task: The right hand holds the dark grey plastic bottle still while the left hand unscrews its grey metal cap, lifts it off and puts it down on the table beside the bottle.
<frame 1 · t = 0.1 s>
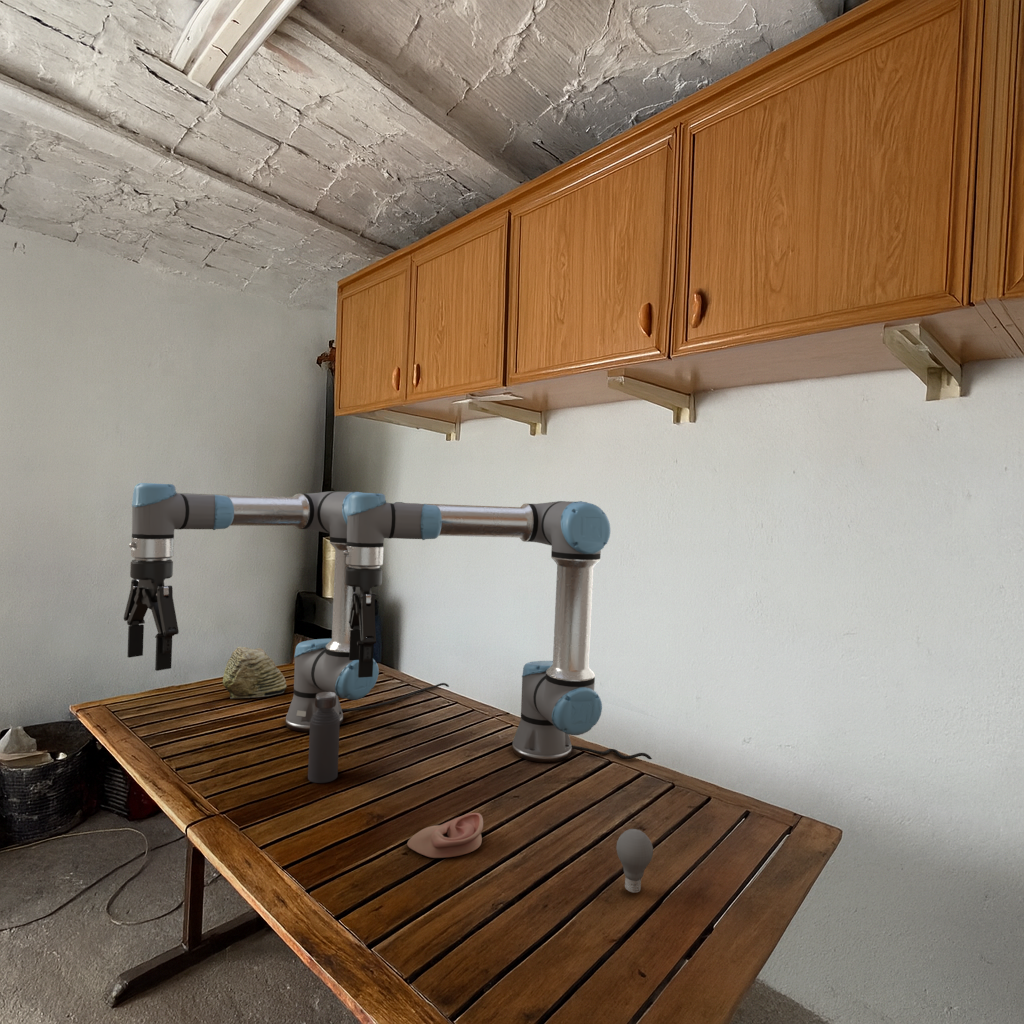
left hand: (148, 662, 129), 28 cm above the table, tool pointing down, fingers open, 13 cm apart
right hand: (360, 668, 132), 28 cm above the table, tool pointing down, fingers open, 13 cm apart
cap: (325, 696, 143), point 18 cm above the table, screwed on, not yet turned
anatomical model: (445, 843, 118), on the table
light bulb: (632, 891, 106), on the table
fossil: (254, 694, 198), on the table
bottle: (322, 776, 143), on the table
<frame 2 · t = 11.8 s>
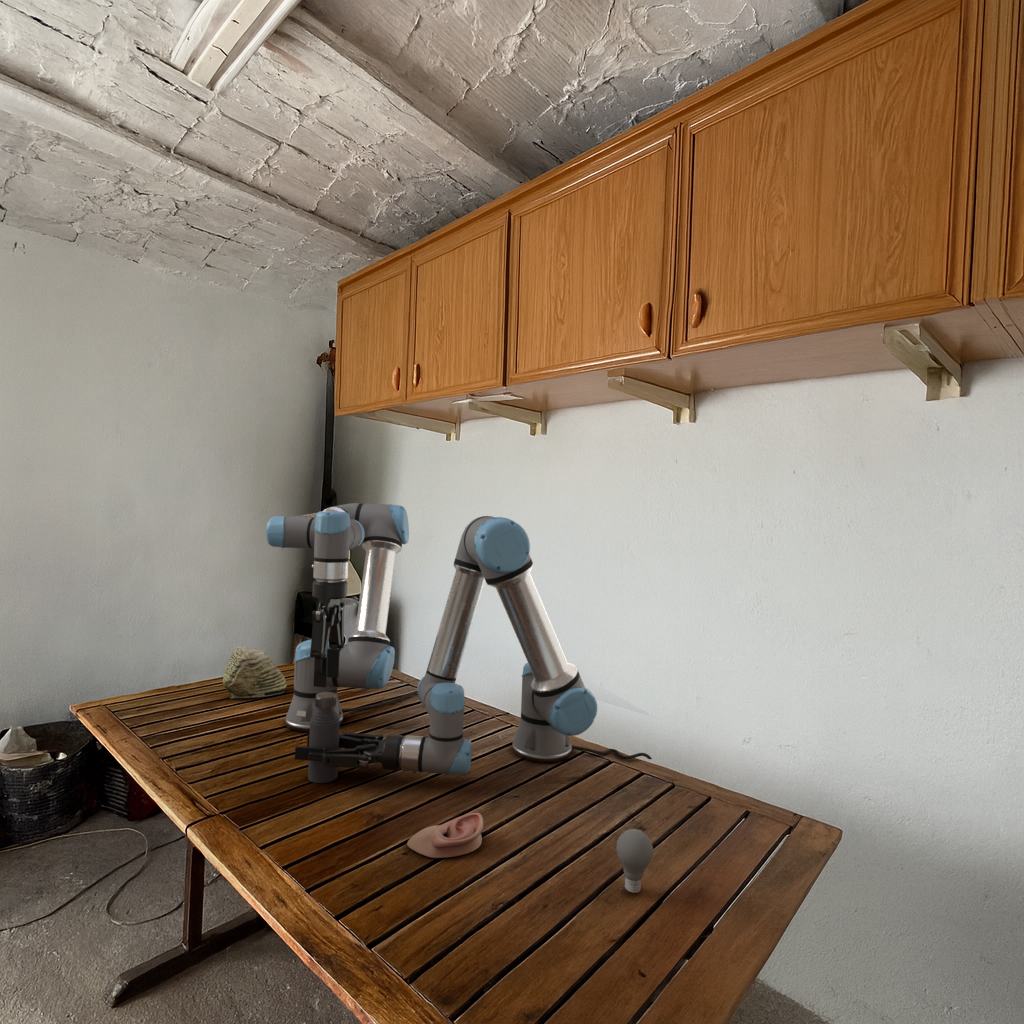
left hand: (326, 681, 143), 22 cm above the table, tool pointing down, fingers open, 7 cm apart
right hand: (302, 746, 143), 7 cm above the table, tool horizontal, fingers closed on bottle, 6 cm apart
bottle: (322, 776, 143), on the table, touching right hand
everything else where it was.
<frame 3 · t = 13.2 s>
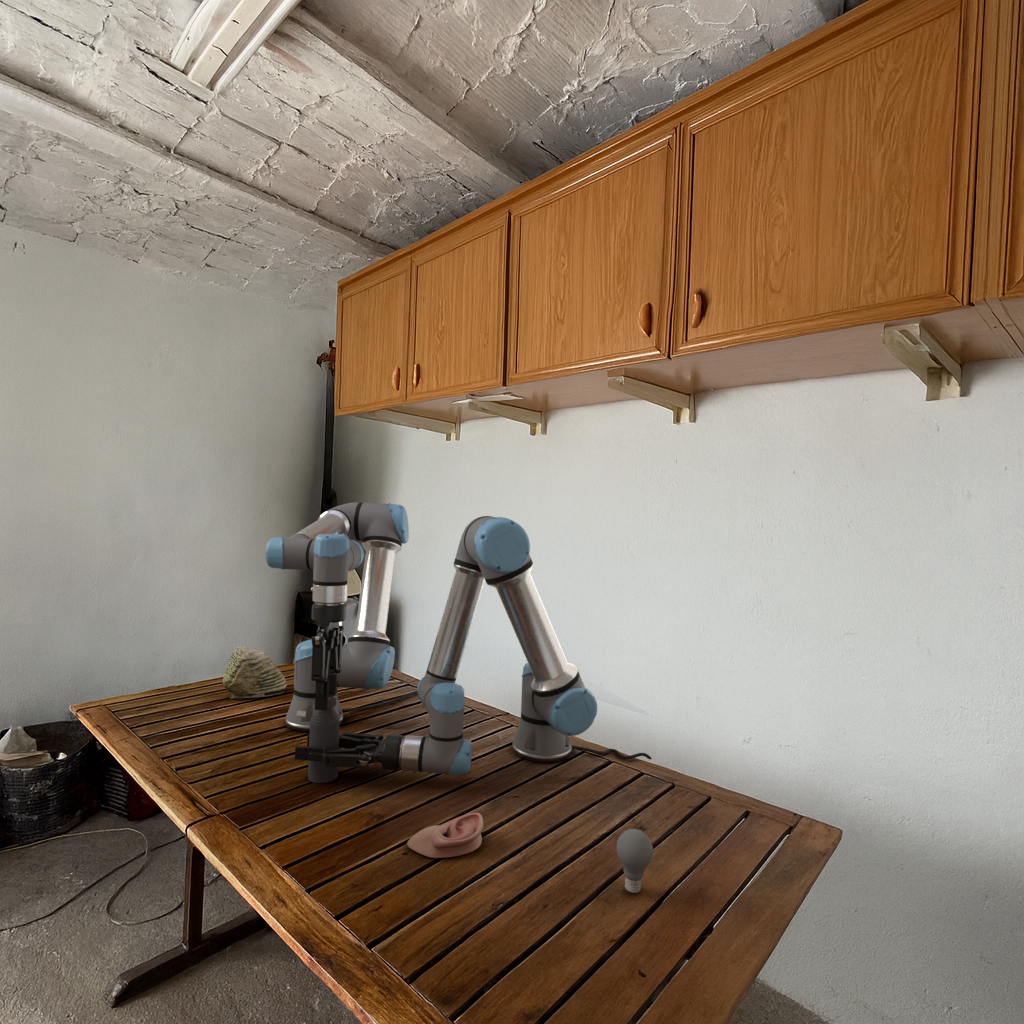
left hand: (325, 705, 143), 16 cm above the table, tool pointing down, fingers closed on cap, 4 cm apart
right hand: (302, 746, 143), 7 cm above the table, tool horizontal, fingers closed on bottle, 6 cm apart
cap: (325, 696, 143), point 18 cm above the table, screwed on, not yet turned, touching left hand
bottle: (322, 776, 143), on the table, touching right hand
everything else where it was.
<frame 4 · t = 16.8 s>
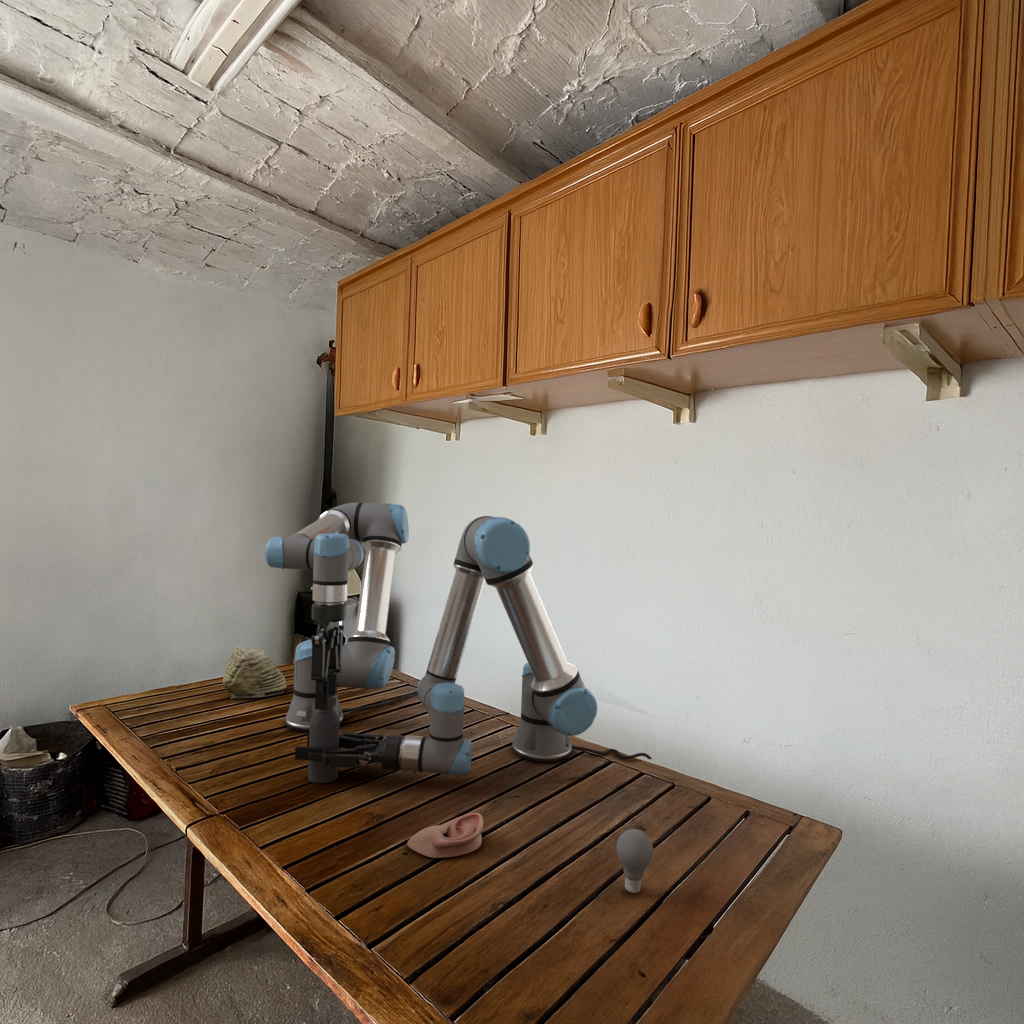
left hand: (325, 705, 143), 16 cm above the table, tool pointing down, fingers closed on cap, 4 cm apart
right hand: (302, 746, 143), 7 cm above the table, tool horizontal, fingers closed on bottle, 6 cm apart
cap: (326, 695, 143), point 18 cm above the table, turned 126° so far, risen 0.1 cm, still on its thread, touching left hand
bottle: (322, 776, 143), on the table, touching right hand
everything else where it was.
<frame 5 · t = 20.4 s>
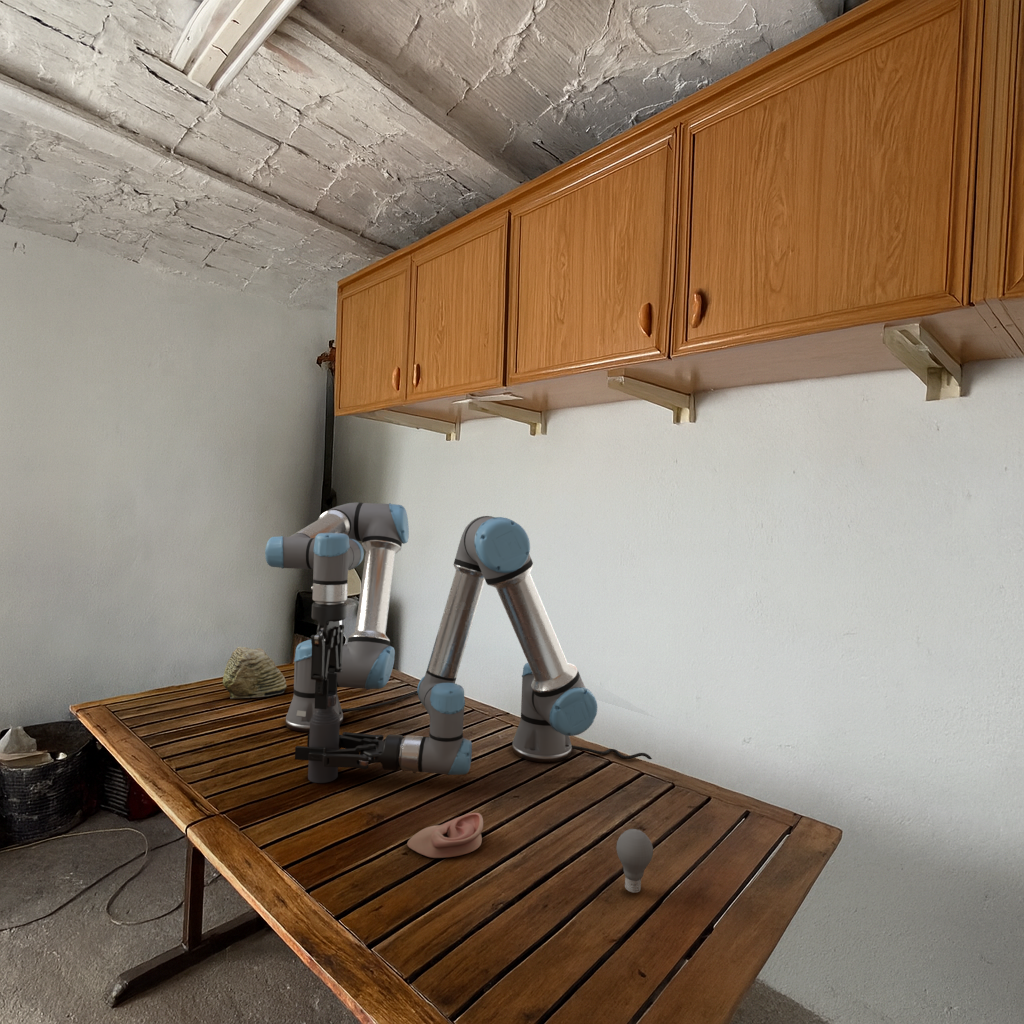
left hand: (325, 704, 143), 16 cm above the table, tool pointing down, fingers closed on cap, 4 cm apart
right hand: (302, 746, 143), 7 cm above the table, tool horizontal, fingers closed on bottle, 6 cm apart
cap: (326, 695, 143), point 19 cm above the table, turned 251° so far, risen 0.2 cm, still on its thread, touching left hand
bottle: (322, 776, 143), on the table, touching right hand
everything else where it was.
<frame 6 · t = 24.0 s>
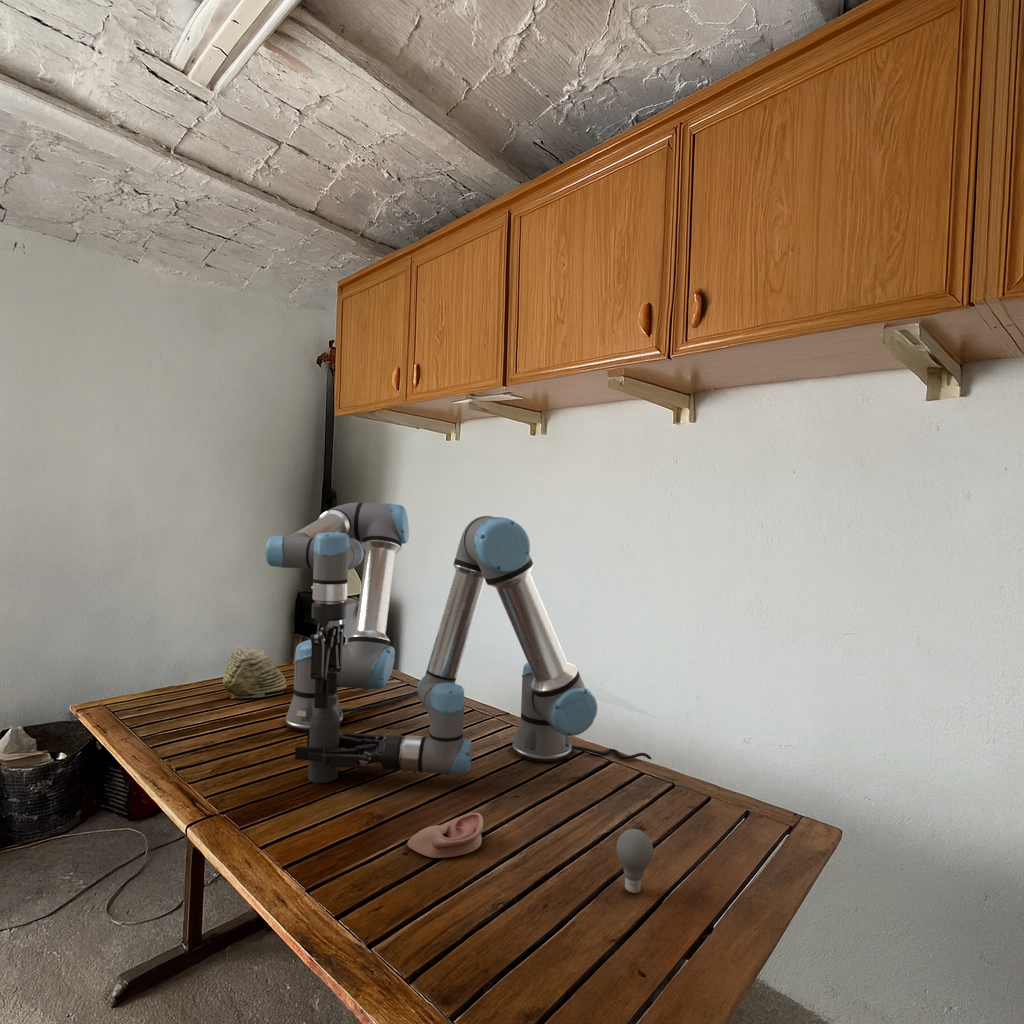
left hand: (325, 704, 143), 17 cm above the table, tool pointing down, fingers closed on cap, 4 cm apart
right hand: (302, 746, 143), 7 cm above the table, tool horizontal, fingers closed on bottle, 6 cm apart
cap: (326, 694, 143), point 19 cm above the table, turned 377° so far, risen 0.3 cm, still on its thread, touching left hand
bottle: (322, 776, 143), on the table, touching right hand
everything else where it was.
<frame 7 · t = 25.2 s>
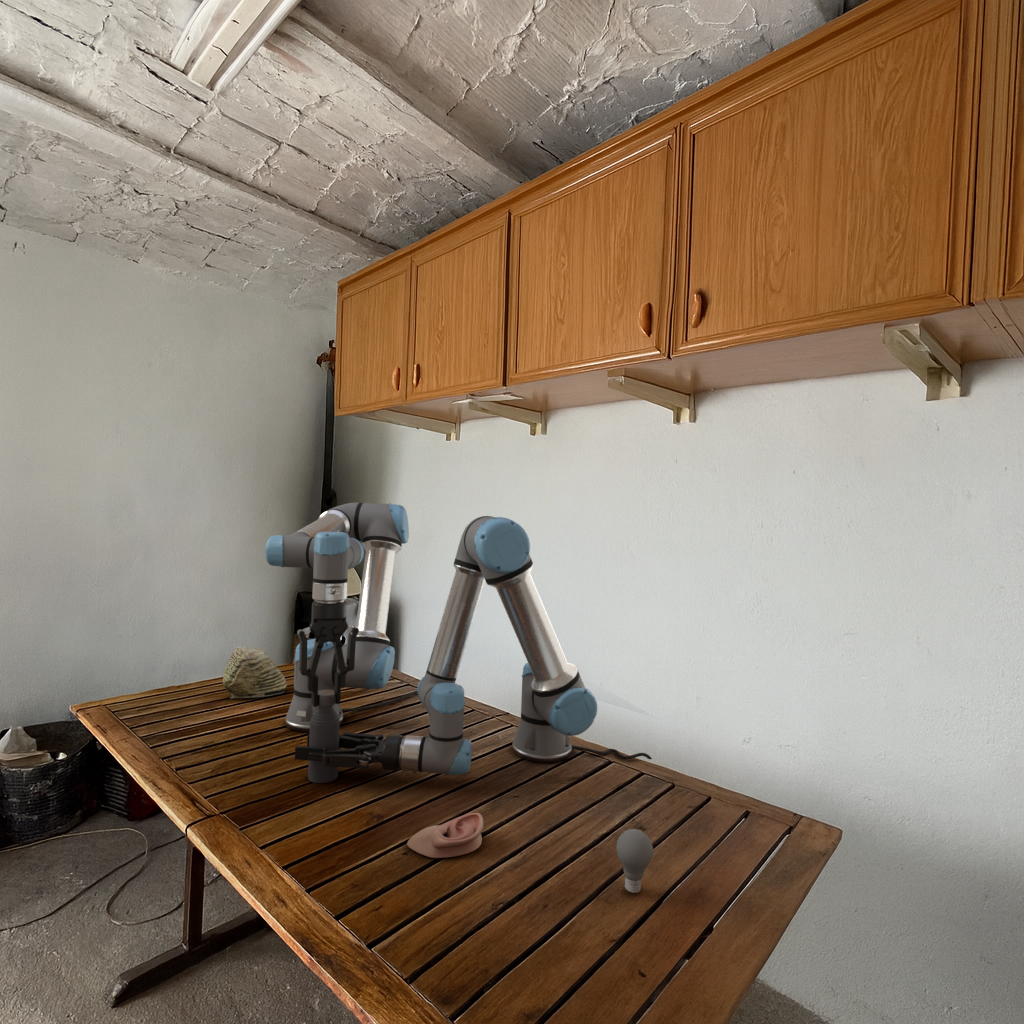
left hand: (325, 703, 143), 17 cm above the table, tool pointing down, fingers closed on cap, 4 cm apart
right hand: (302, 746, 143), 7 cm above the table, tool horizontal, fingers closed on bottle, 6 cm apart
cap: (326, 693, 143), point 19 cm above the table, off its thread, touching left hand
bottle: (322, 776, 143), on the table, touching right hand
everything else where it was.
when the left hand's fingers open (1 cm above the table, at t = 31.1 s): cap drops 1 cm, point 2 cm above the table.
when the right hand's fingers open (7 cm above the table, at t = 32.3 s): bottle stays where it is, on the table.
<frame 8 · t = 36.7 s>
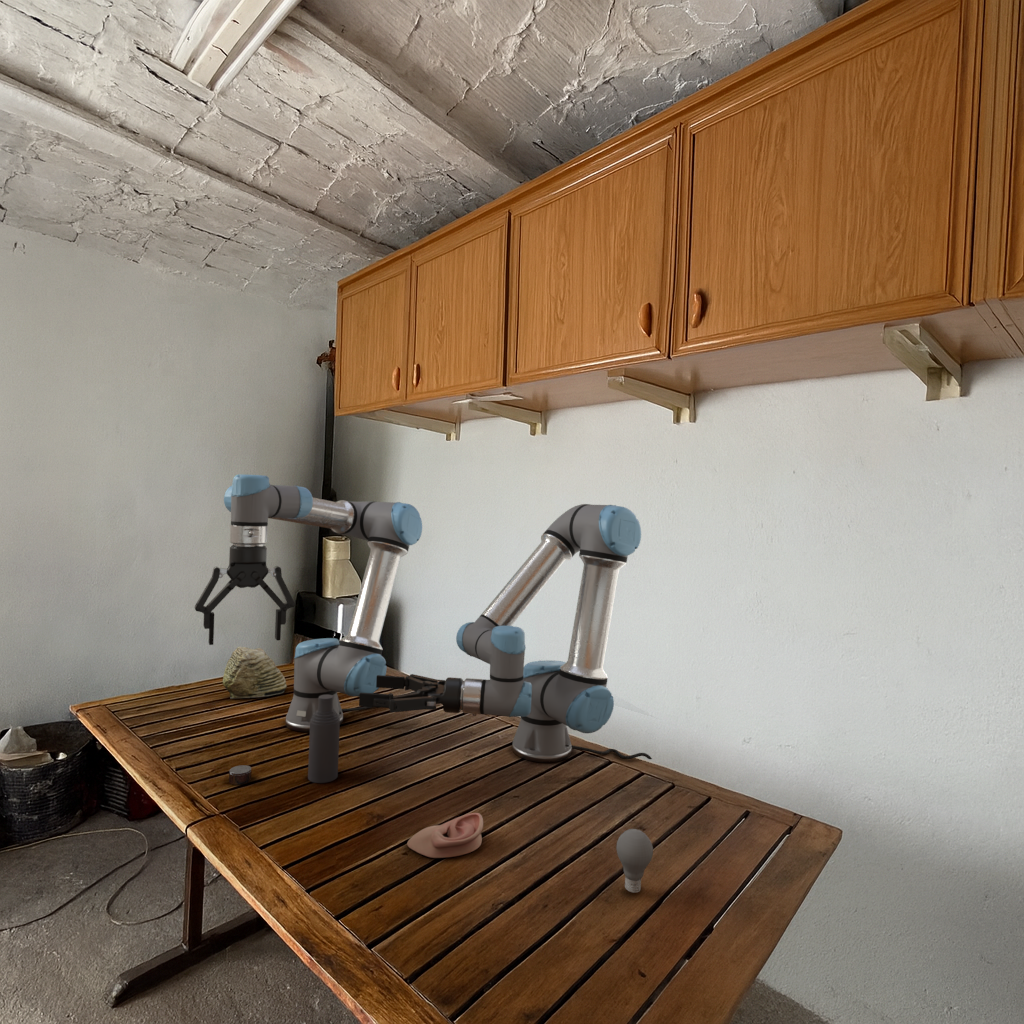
left hand: (245, 641, 139), 31 cm above the table, tool pointing down, fingers open, 13 cm apart
right hand: (368, 689, 142), 20 cm above the table, tool horizontal, fingers open, 13 cm apart
cap: (240, 770, 140), point 2 cm above the table, off its thread
bottle: (322, 776, 143), on the table
everything else where it was.
at the end: cap came off its thread; cap point 2.1 cm above the table; the left hand is holding nothing; the right hand is holding nothing; bottle tilted 0°; bottle moved 0.0 cm from its start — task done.
